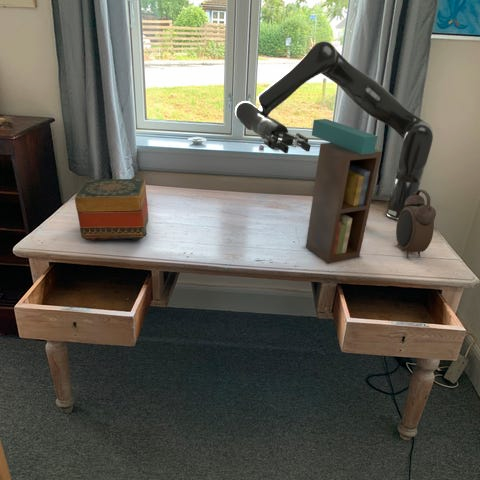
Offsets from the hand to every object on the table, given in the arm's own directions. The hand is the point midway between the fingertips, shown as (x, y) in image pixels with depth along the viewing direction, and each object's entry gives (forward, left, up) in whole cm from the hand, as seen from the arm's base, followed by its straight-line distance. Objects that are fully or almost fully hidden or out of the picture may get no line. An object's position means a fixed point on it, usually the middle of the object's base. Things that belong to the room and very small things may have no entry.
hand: (298, 149), depth 154 cm
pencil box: (-10, +17, +7) cm, 21 cm away
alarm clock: (-37, +17, -26) cm, 48 cm away
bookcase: (-12, +21, -25) cm, 35 cm away
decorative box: (+56, +17, -26) cm, 64 cm away
